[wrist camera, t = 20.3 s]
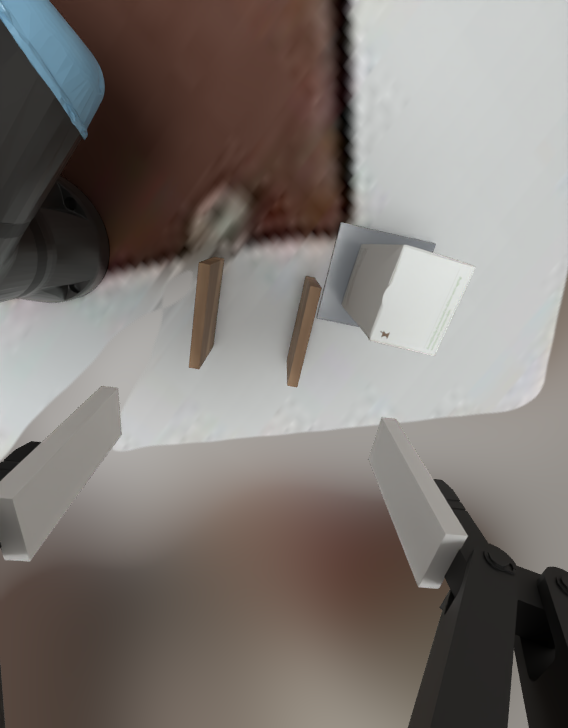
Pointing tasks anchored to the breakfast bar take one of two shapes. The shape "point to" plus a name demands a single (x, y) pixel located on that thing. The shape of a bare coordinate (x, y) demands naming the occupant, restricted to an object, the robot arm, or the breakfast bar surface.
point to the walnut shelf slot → (208, 311)
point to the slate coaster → (344, 264)
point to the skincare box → (405, 295)
